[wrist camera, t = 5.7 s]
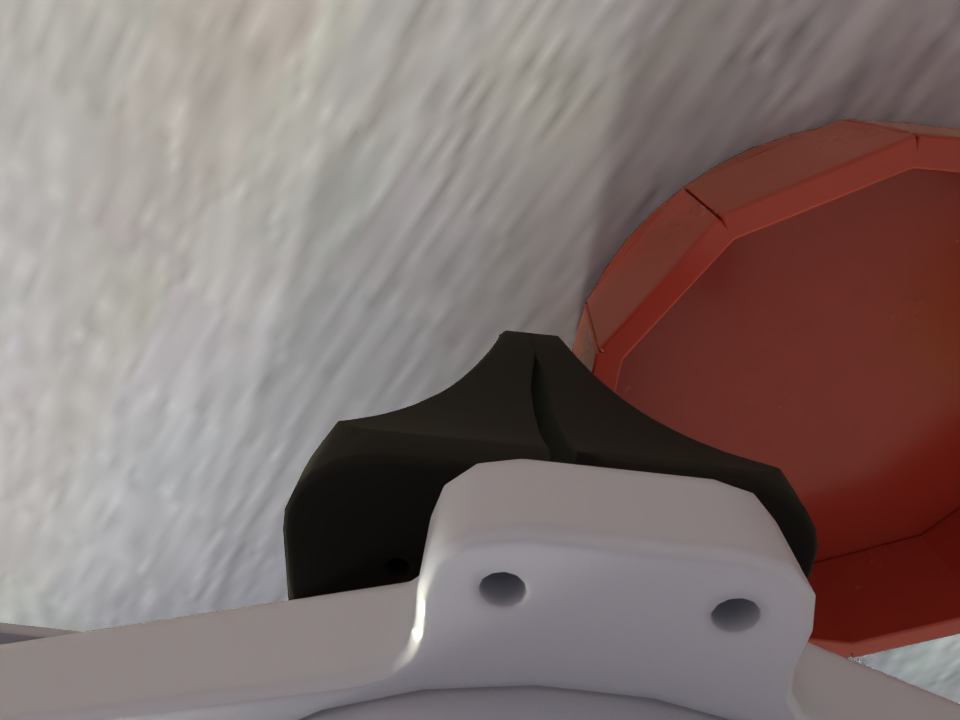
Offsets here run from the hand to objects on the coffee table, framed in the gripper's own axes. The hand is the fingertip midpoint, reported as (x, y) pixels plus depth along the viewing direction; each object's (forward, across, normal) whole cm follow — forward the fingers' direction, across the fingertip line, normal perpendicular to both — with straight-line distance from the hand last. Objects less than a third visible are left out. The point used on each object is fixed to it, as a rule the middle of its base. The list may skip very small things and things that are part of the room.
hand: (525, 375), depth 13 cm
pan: (+1, -7, +3) cm, 7 cm away
